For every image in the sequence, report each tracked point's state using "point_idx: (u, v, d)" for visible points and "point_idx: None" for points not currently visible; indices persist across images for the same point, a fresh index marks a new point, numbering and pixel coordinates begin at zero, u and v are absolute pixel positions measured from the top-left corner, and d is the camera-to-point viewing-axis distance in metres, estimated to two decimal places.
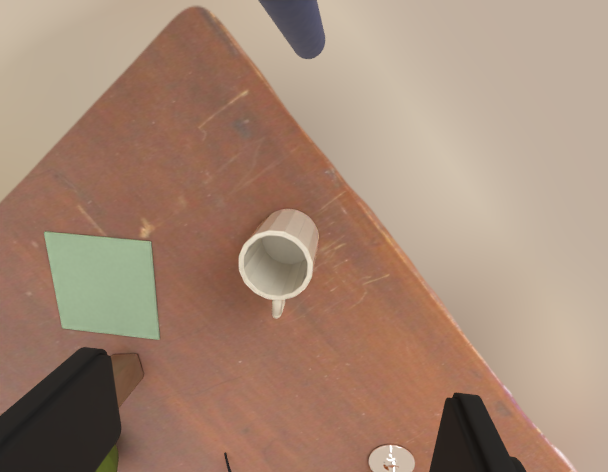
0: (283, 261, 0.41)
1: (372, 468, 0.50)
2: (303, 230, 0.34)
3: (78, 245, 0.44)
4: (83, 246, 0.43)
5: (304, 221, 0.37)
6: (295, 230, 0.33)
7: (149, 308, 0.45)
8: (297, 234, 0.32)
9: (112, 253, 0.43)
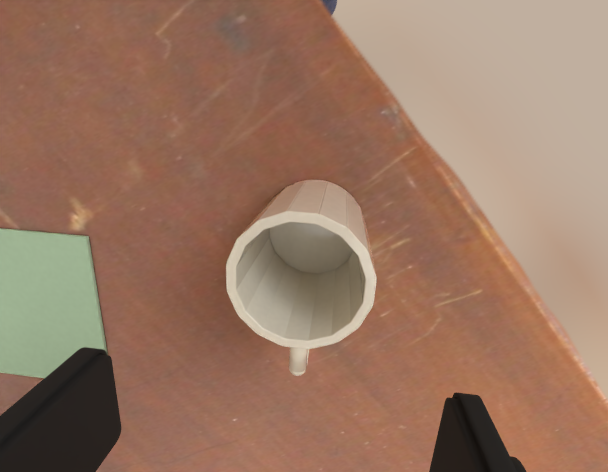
0: (304, 269, 0.25)
1: None
2: (350, 213, 0.18)
3: None
4: None
5: (346, 199, 0.20)
6: (339, 212, 0.17)
7: (92, 340, 0.29)
8: (344, 220, 0.16)
9: (29, 255, 0.27)
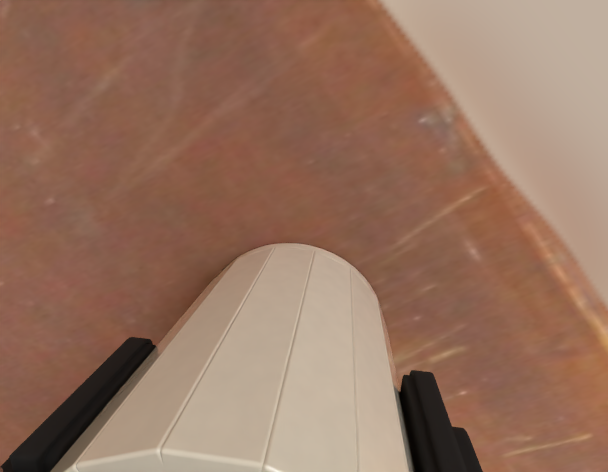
0: None
1: None
2: (362, 366, 0.07)
3: None
4: None
5: (351, 298, 0.10)
6: (333, 393, 0.06)
7: None
8: (348, 442, 0.05)
9: None
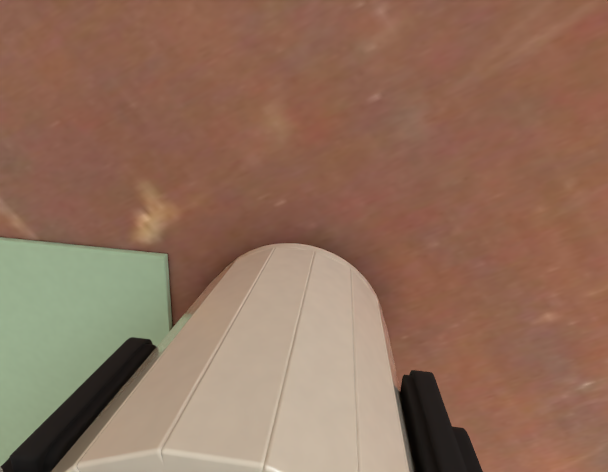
0: None
1: None
2: (362, 366, 0.07)
3: None
4: None
5: (351, 298, 0.10)
6: (334, 394, 0.06)
7: None
8: (349, 442, 0.05)
9: (54, 287, 0.15)
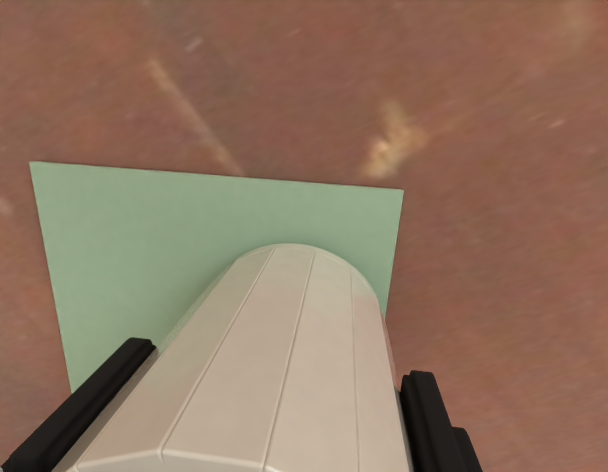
0: None
1: None
2: (362, 366, 0.07)
3: (143, 206, 0.13)
4: (158, 208, 0.13)
5: (351, 298, 0.10)
6: (334, 394, 0.06)
7: None
8: (349, 442, 0.05)
9: (259, 231, 0.13)
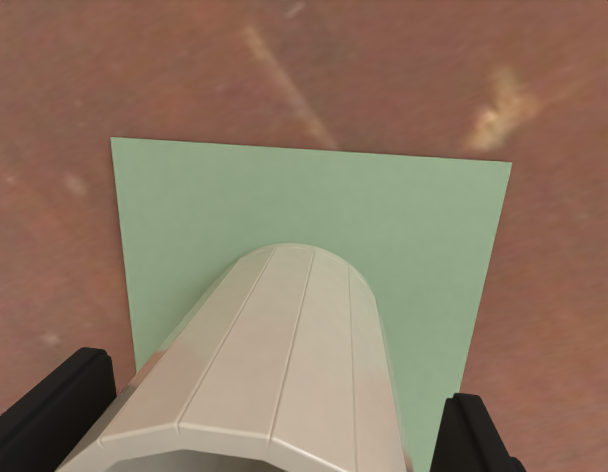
0: None
1: None
2: (360, 355, 0.08)
3: (229, 183, 0.13)
4: (246, 185, 0.13)
5: (349, 294, 0.10)
6: (333, 378, 0.07)
7: (435, 390, 0.14)
8: (347, 420, 0.06)
9: (352, 209, 0.12)
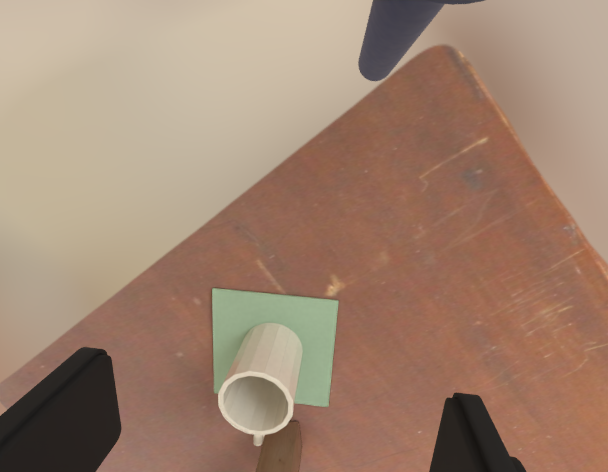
0: None
1: None
2: (285, 360, 0.34)
3: (251, 303, 0.38)
4: (256, 304, 0.38)
5: (287, 342, 0.36)
6: (276, 364, 0.32)
7: (323, 373, 0.40)
8: (278, 372, 0.32)
9: (291, 312, 0.38)
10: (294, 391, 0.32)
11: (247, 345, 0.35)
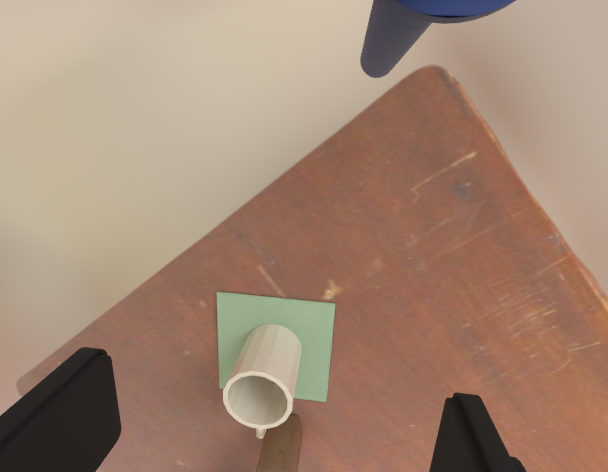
0: None
1: None
2: (284, 360, 0.36)
3: (253, 306, 0.41)
4: (258, 307, 0.41)
5: (287, 343, 0.39)
6: (277, 364, 0.35)
7: (321, 370, 0.43)
8: (278, 371, 0.34)
9: (291, 314, 0.41)
10: (293, 389, 0.35)
11: (249, 346, 0.38)
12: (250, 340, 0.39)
